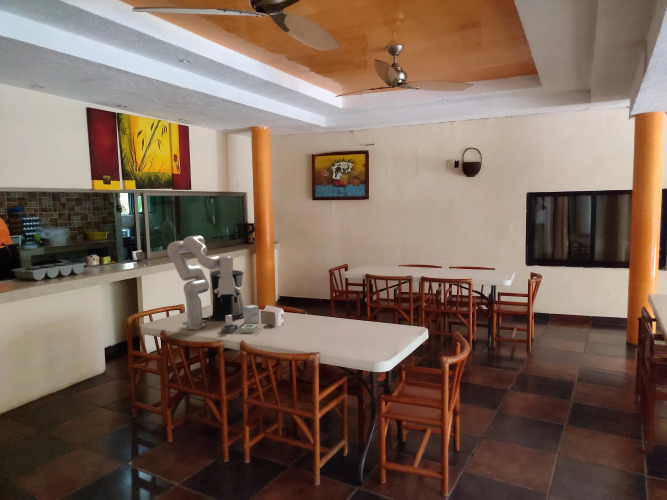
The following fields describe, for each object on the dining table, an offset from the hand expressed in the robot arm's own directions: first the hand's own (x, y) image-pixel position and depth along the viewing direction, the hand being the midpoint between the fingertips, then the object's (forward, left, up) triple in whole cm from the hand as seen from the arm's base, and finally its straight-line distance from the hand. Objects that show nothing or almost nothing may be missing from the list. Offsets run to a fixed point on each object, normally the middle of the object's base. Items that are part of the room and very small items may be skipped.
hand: (228, 302), depth 296 cm
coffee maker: (-20, +41, -20) cm, 50 cm away
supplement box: (+8, +20, -20) cm, 30 cm away
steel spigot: (0, 0, -18) cm, 18 cm away
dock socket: (+13, 0, -18) cm, 22 cm away
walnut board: (+6, 0, -20) cm, 21 cm away
